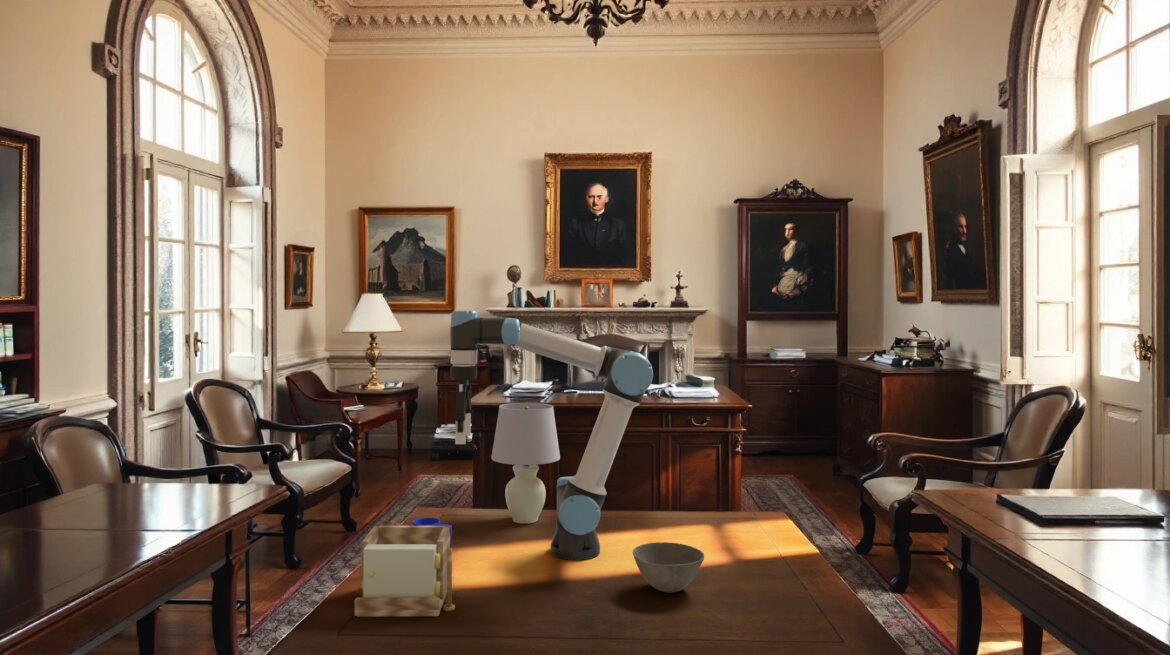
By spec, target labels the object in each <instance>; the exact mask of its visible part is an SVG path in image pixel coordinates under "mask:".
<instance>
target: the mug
mask: <svg viewBox="0 0 1170 655" xmlns="http://www.w3.org/2000/svg"><path fill="white" fill-rule="evenodd" d="M412 526H450V542H451V540H452V531H453V526H452V525H451V524H444V523H441V520H440V518H437V517H420V518H416V519H414V520H412Z"/></svg>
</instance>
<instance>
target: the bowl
mask: <svg viewBox="0 0 1170 655" xmlns="http://www.w3.org/2000/svg"><path fill="white" fill-rule="evenodd" d="M632 556H633V558H634V561H635V564H636V566H637V568H638V571H639V573H640V575H641V576H642V577H643V579H644V580H645V581H646V583H647V584H649V585H650V586H651V587H652V588H653V589H656V591H659V592H662V593H678V592H680V591H682V590H685V589H686V588H687V587H688V586H689V584H691V582H692V581H693V580H694V578H695V577H696V575H697V573H698V572H699V570H700V569H701V566H702V564H703V562H704V560H705V554H704V552H703V551H702V550H700V549H698V548H696V547H693V546H690V545H688V544H683V543H679V542H678V543H677V542H667V541H666V542H649V543H643V544H640V545H638V546H636V547H635V548H634V549H633V550H632Z"/></svg>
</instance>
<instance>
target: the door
mask: <svg viewBox="0 0 1170 655" xmlns="http://www.w3.org/2000/svg"><path fill="white" fill-rule="evenodd" d="M436 568H440V554H438V553H437V544H367V546H366V547H365V548H364V565H363V598H404V597H438V596H440V582H436Z"/></svg>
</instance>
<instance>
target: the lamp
mask: <svg viewBox="0 0 1170 655" xmlns="http://www.w3.org/2000/svg"><path fill="white" fill-rule="evenodd" d="M495 426H496V427H495V433H494V440H493V443H492V444H493V445H492V453H491V457H490V458H491V460H492V461H493V462H496V463H500V464H506V465H513V466H512V472H513V473H514V477H513V478H511V479H510V480H509V481H508V482H507V484H506V486H505V494H504V497H505V503H506V506H507V509H508V512H509V514H510V516H511V519H512V521H513V522H514V523H517V524H523V525H525V524H532V523H533V524H534V523H535V522H537V521H538V520H539V517H540V514H541V513H542V510H543V508H544V505H545V503H546V496H547V494H546V493H547V492H546V487H545V484H544V482H543V481H542V480H541V479H540V478H539V477H538V476H537V474H538V471H539V470H540V467H539V465H545V464H551V463H555V462H558V461H560V459H561V454H560V448H559V441H558V440H559V439H558V432H557V427H556V418H555V409H554V405H552V404H548V403H539V402H513V403H505V404H500V405H499V408H498V414H497V421H496V425H495Z"/></svg>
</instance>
